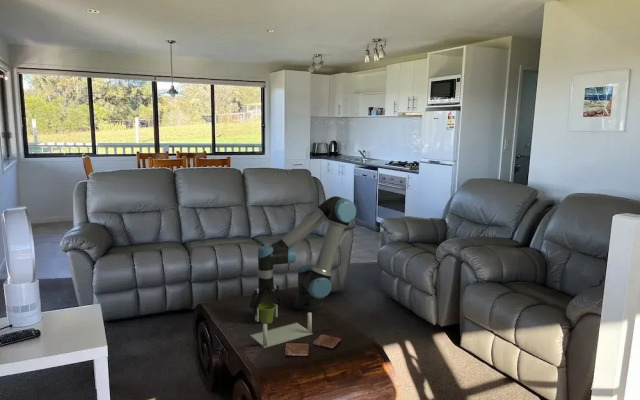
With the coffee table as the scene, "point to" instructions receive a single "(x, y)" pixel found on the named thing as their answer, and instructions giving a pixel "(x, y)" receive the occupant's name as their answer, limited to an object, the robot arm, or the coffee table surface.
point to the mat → (282, 333)
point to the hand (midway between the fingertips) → (266, 318)
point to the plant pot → (266, 312)
